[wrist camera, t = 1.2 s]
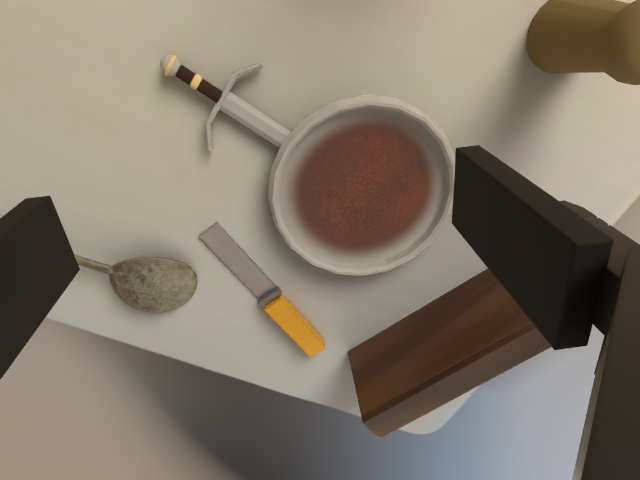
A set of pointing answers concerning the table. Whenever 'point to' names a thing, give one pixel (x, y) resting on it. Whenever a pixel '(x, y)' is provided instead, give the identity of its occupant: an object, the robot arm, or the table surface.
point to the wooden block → (441, 353)
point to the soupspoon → (148, 281)
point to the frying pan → (348, 176)
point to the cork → (587, 38)
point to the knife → (264, 290)
